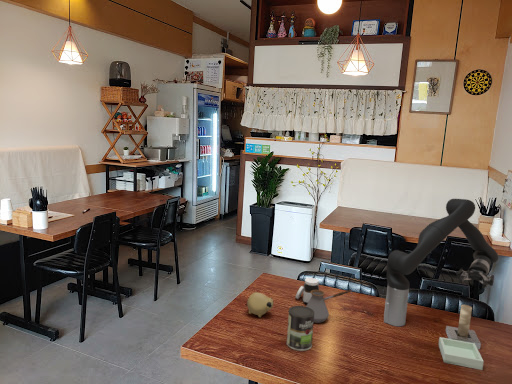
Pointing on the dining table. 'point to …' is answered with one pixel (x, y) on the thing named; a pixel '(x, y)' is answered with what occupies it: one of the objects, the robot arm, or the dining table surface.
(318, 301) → the coffee pot
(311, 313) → the coffee can
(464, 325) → the dowel
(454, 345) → the tray
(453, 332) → the socket block
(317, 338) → the dining table surface
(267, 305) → the toy pig
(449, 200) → the robot arm
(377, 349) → the dining table surface
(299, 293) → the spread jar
